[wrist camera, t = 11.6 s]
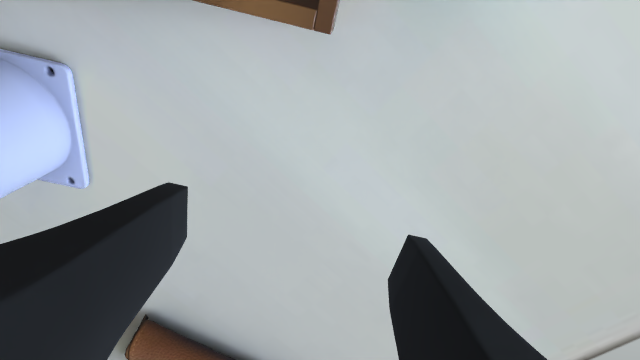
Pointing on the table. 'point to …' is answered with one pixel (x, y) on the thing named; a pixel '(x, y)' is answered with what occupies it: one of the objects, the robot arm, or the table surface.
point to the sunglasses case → (166, 345)
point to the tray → (287, 11)
